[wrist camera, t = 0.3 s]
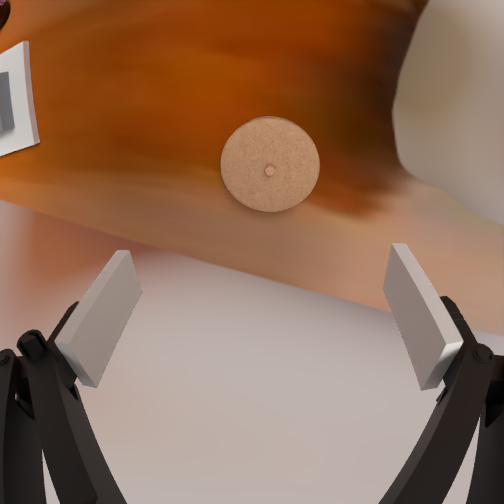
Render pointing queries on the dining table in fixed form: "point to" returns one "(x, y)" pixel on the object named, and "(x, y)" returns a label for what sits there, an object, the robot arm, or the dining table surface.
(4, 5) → the supplement container
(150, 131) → the dining table surface
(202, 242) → the dining table surface
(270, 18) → the dining table surface
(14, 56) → the build base
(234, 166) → the lidded jar
